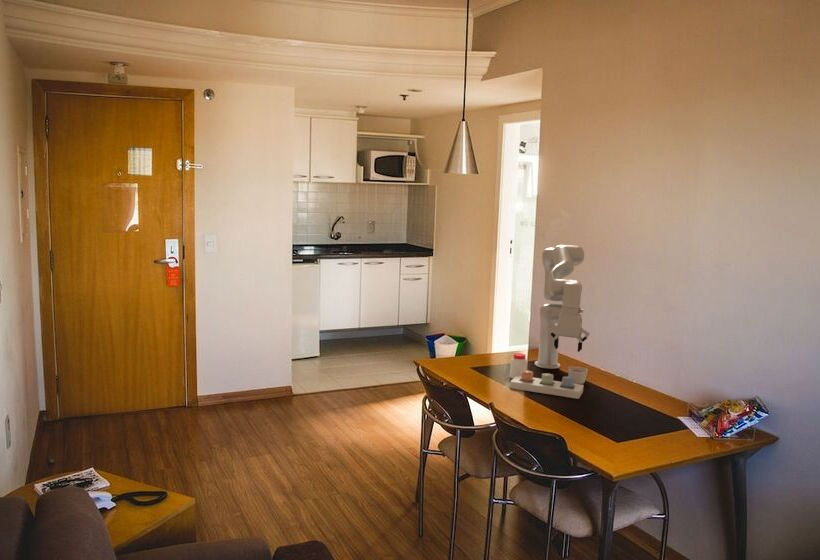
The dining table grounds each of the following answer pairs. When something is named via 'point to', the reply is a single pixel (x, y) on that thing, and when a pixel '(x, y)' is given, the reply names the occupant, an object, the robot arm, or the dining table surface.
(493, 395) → the dining table surface
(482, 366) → the dining table surface
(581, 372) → the candle
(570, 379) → the button slate
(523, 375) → the button terracotta
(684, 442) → the dining table surface
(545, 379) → the button sage
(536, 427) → the dining table surface
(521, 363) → the pill bottle
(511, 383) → the console
